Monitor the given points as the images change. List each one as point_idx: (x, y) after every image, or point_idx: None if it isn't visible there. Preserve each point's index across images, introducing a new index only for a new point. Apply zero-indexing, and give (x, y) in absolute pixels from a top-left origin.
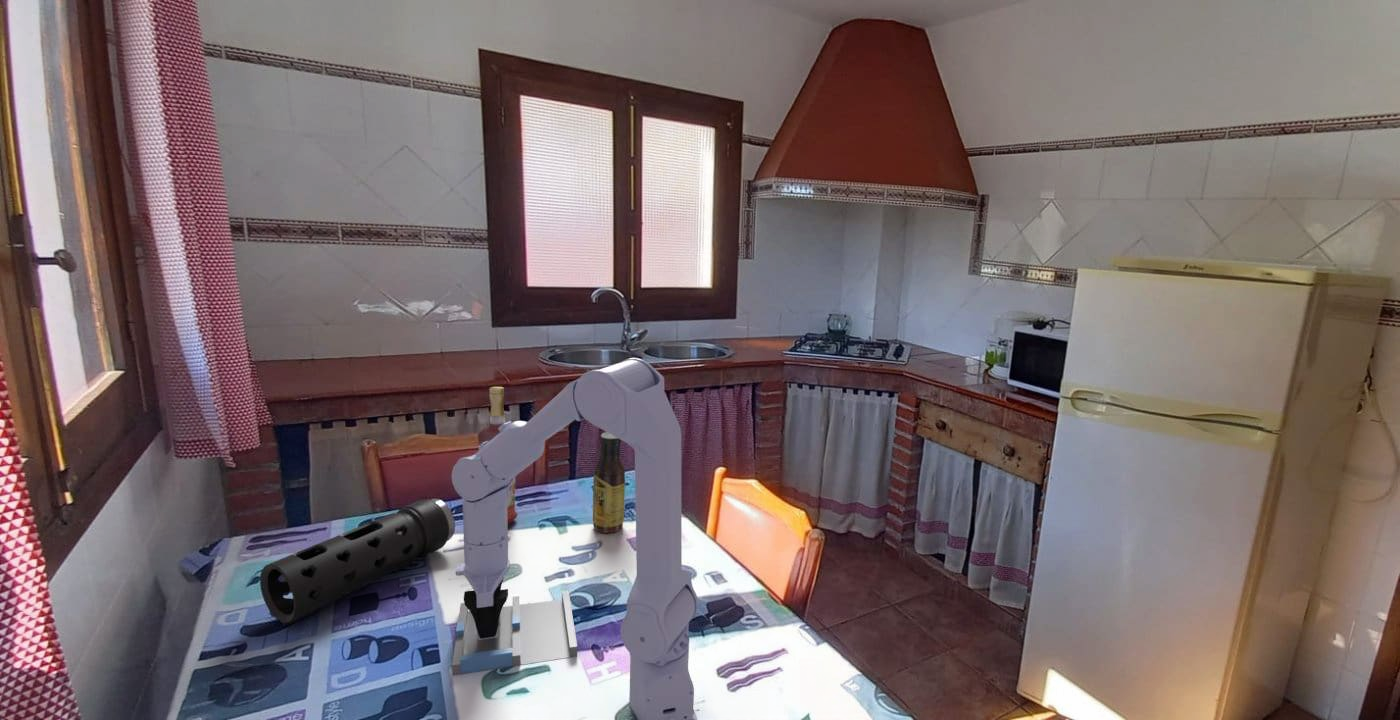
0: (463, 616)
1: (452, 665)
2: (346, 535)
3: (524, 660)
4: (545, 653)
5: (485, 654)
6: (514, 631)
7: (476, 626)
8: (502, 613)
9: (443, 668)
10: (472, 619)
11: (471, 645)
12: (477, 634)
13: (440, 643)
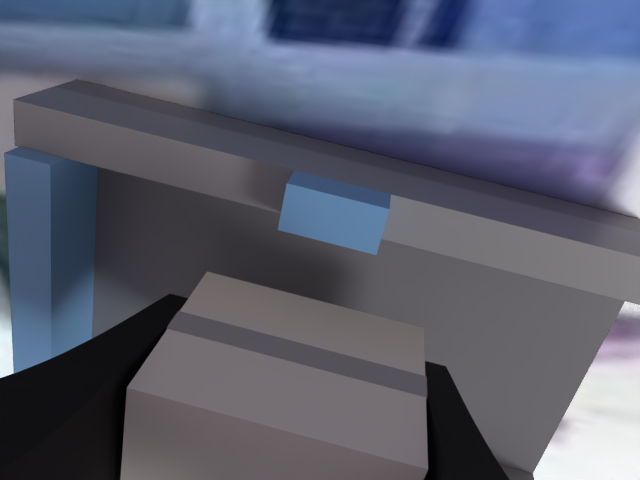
0: (502, 253)
1: (14, 101)
2: None
3: None
4: None
5: (24, 283)
6: None
7: (107, 330)
8: (489, 418)
9: (204, 49)
10: (529, 279)
11: (275, 224)
12: (195, 292)
13: (448, 64)
